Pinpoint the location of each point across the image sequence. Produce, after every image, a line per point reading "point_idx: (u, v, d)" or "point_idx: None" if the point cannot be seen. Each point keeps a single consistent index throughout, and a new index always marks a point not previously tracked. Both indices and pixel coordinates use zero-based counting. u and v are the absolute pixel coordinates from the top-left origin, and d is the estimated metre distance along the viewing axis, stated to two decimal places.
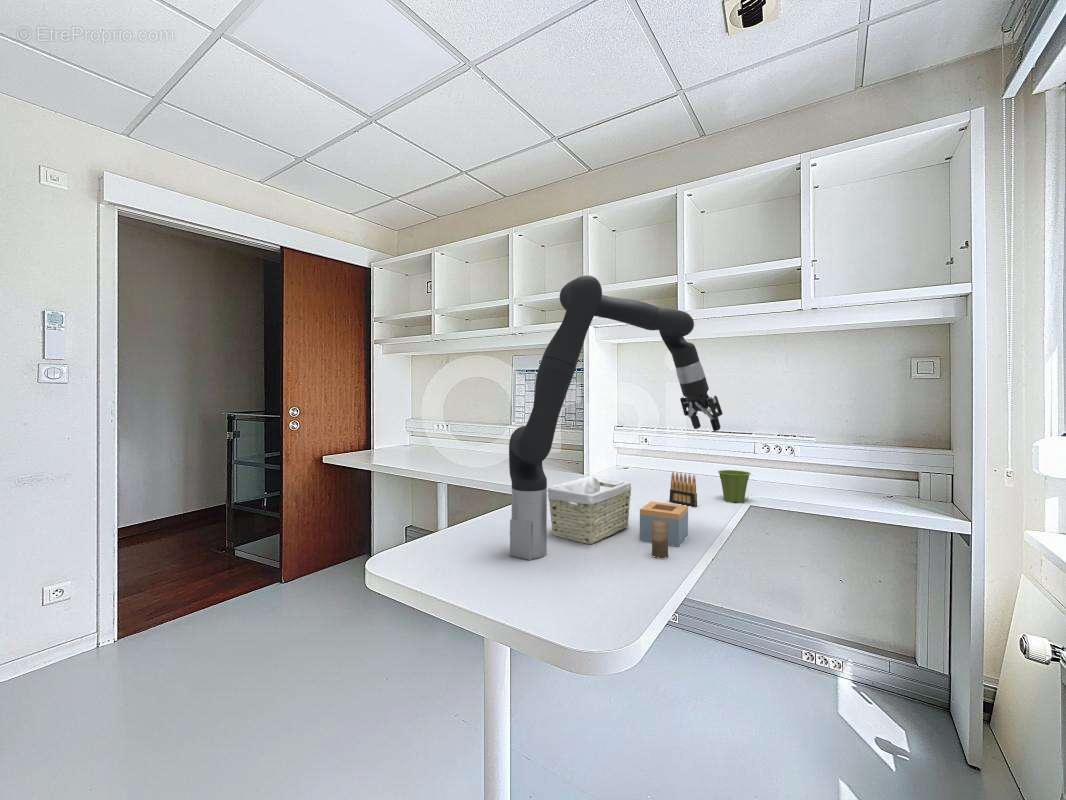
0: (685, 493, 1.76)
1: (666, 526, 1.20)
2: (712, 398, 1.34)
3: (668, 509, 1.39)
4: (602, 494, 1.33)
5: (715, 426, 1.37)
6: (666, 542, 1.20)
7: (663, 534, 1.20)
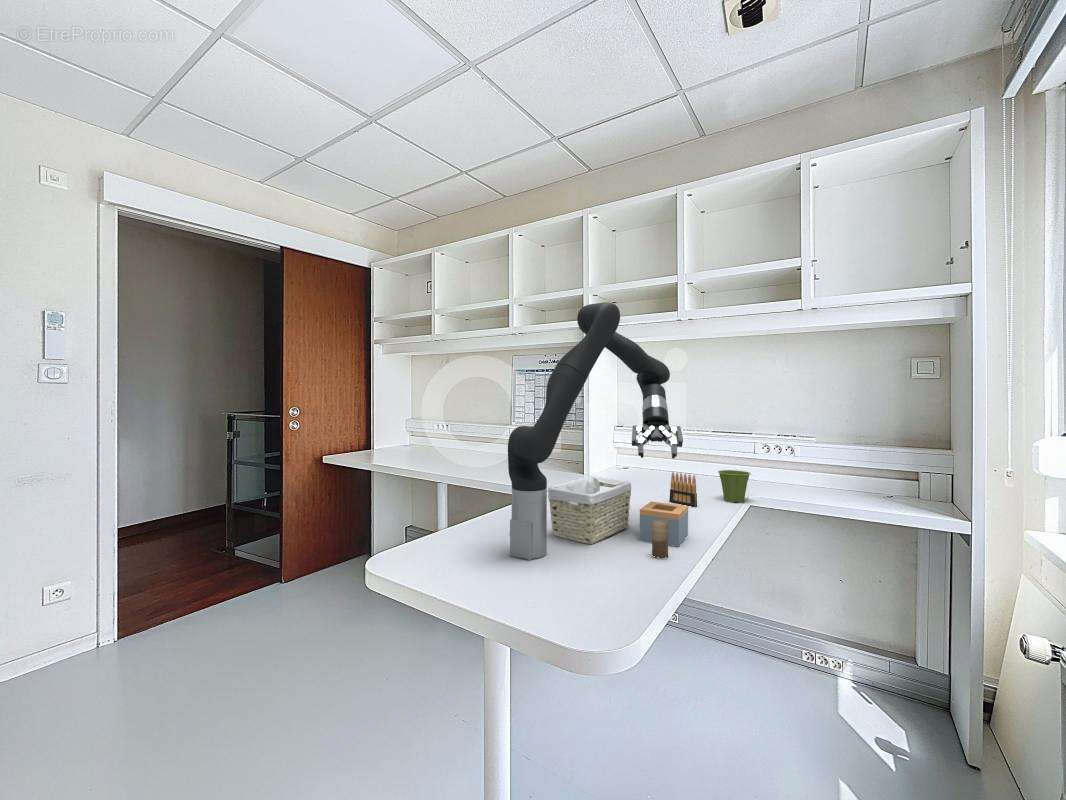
0: (685, 493, 1.76)
1: (666, 526, 1.20)
2: None
3: (668, 509, 1.39)
4: (602, 494, 1.33)
5: (675, 451, 1.32)
6: (666, 542, 1.20)
7: (663, 534, 1.20)
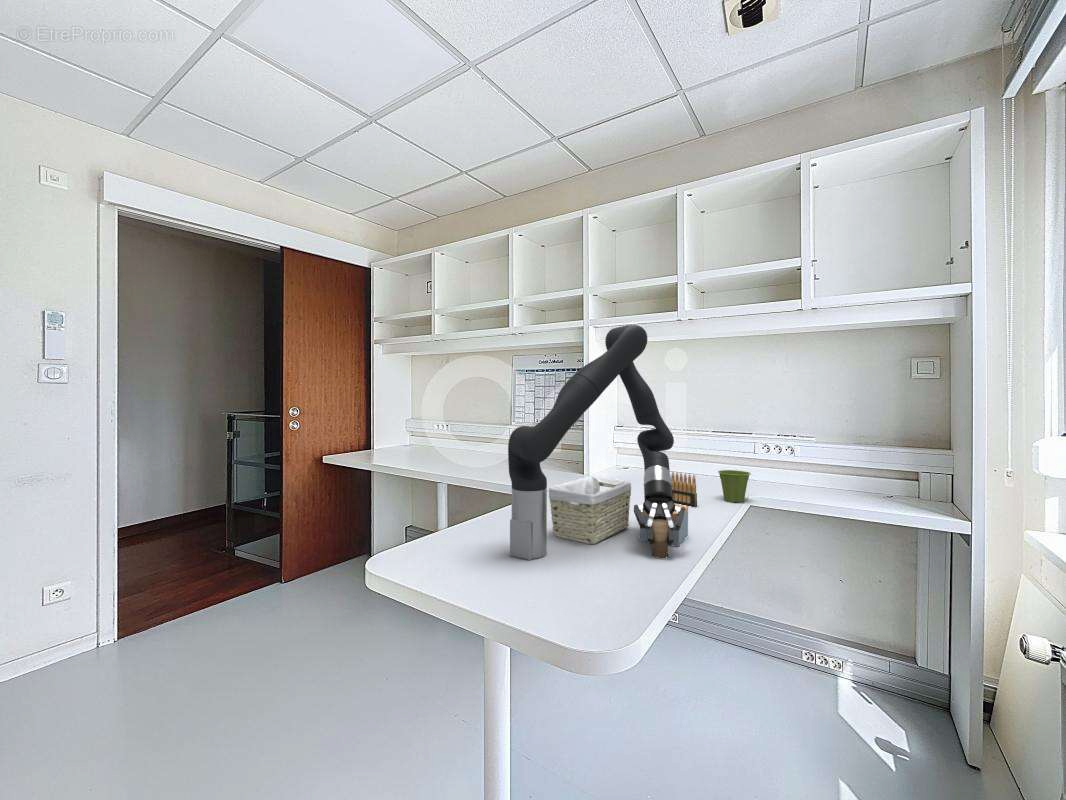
0: (685, 493, 1.76)
1: (666, 526, 1.20)
2: (684, 510, 1.25)
3: None
4: (603, 494, 1.33)
5: (672, 536, 1.20)
6: (666, 542, 1.20)
7: (663, 534, 1.20)
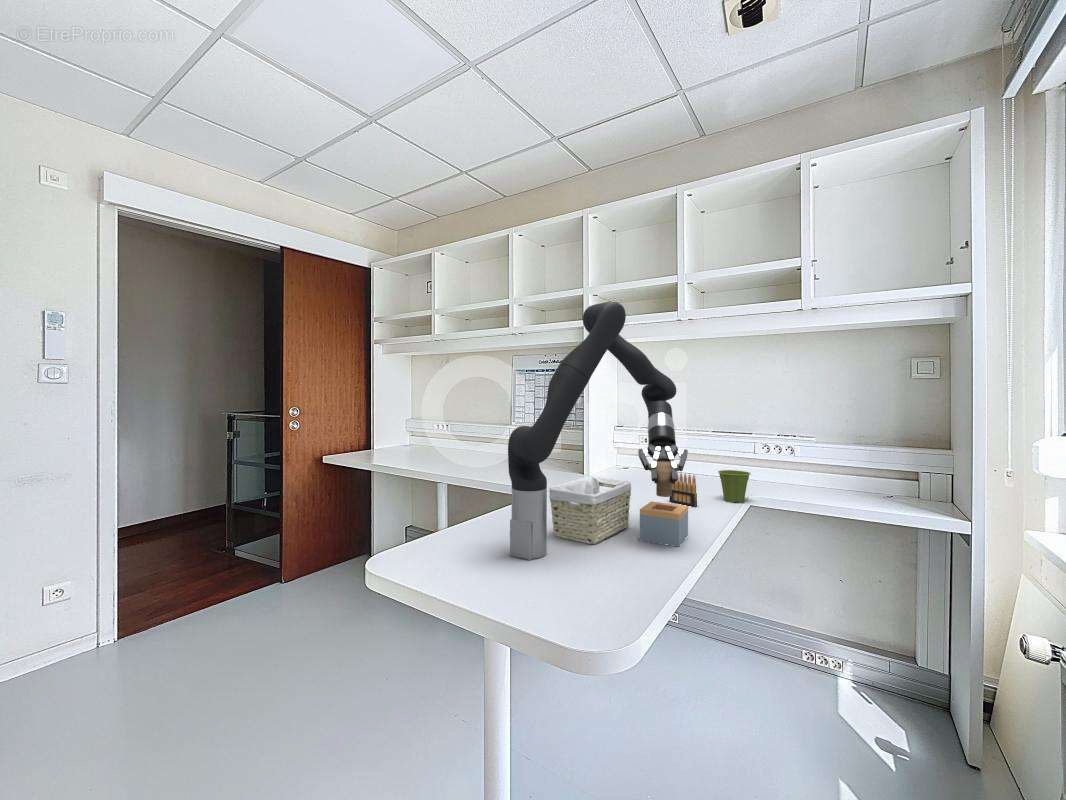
0: (685, 493, 1.76)
1: (669, 466, 1.26)
2: None
3: (668, 509, 1.39)
4: (604, 494, 1.33)
5: (675, 476, 1.26)
6: (670, 481, 1.26)
7: (667, 473, 1.26)
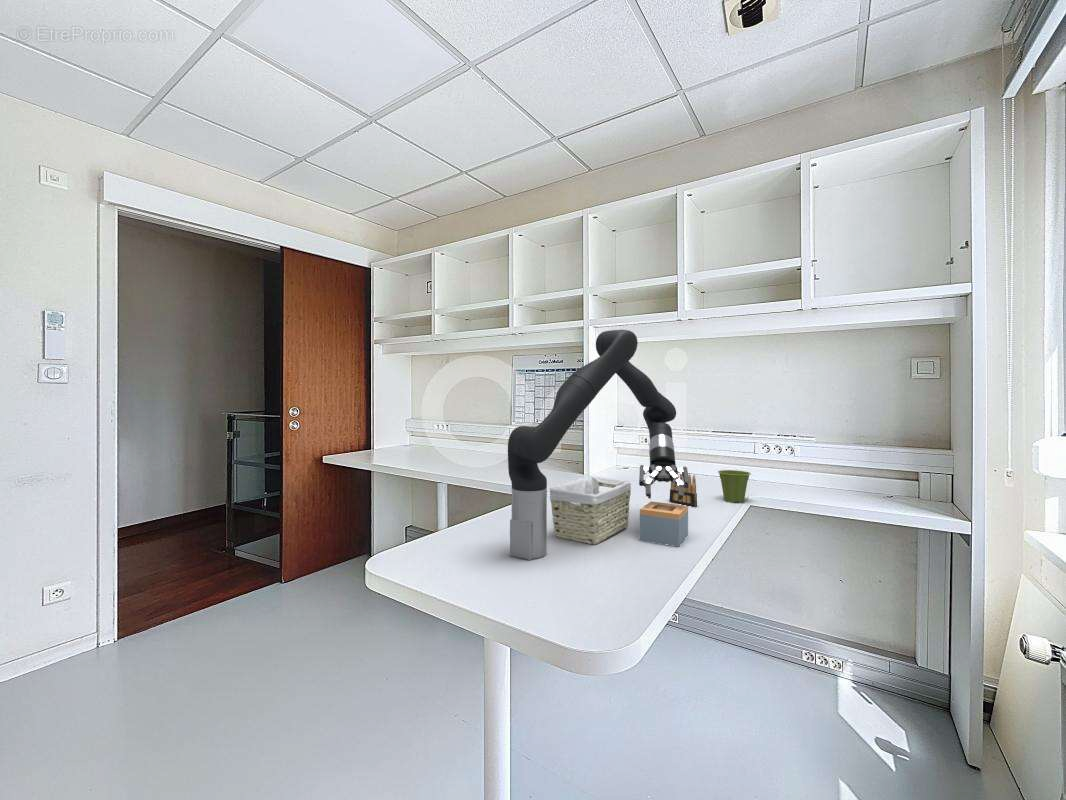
0: (685, 493, 1.76)
1: None
2: None
3: None
4: (605, 494, 1.33)
5: (682, 492, 1.35)
6: None
7: None
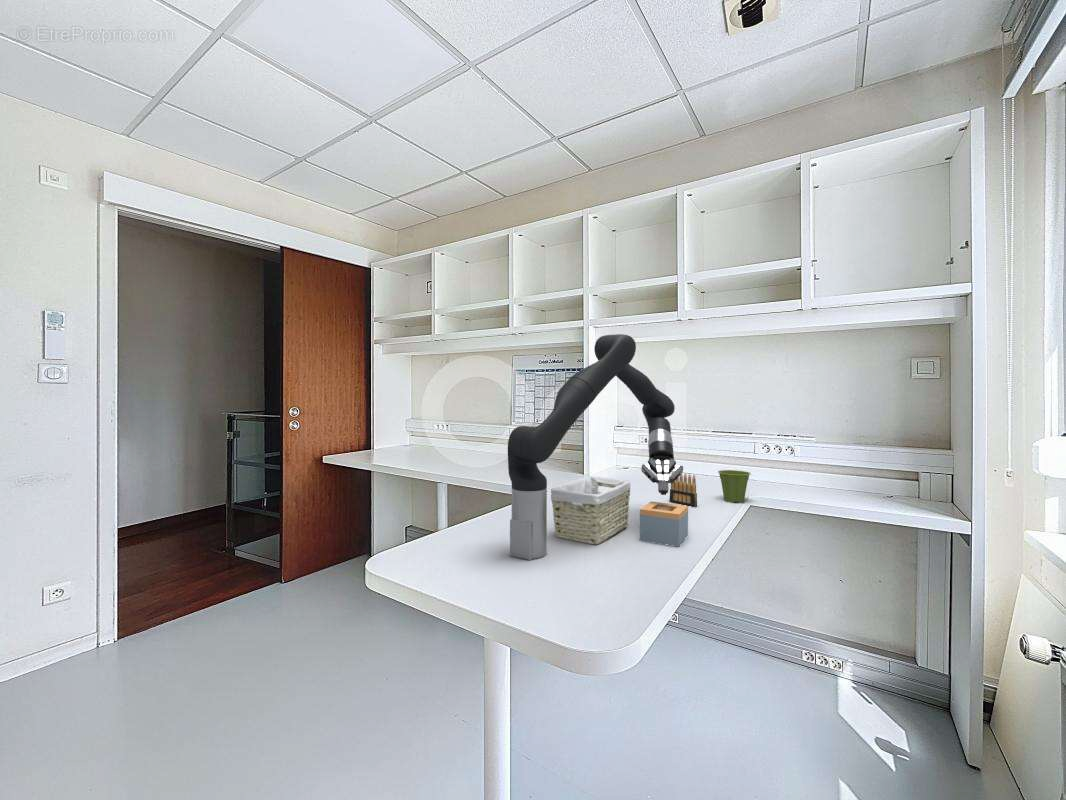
0: (685, 493, 1.76)
1: None
2: None
3: None
4: (606, 494, 1.33)
5: (667, 487, 1.38)
6: None
7: None
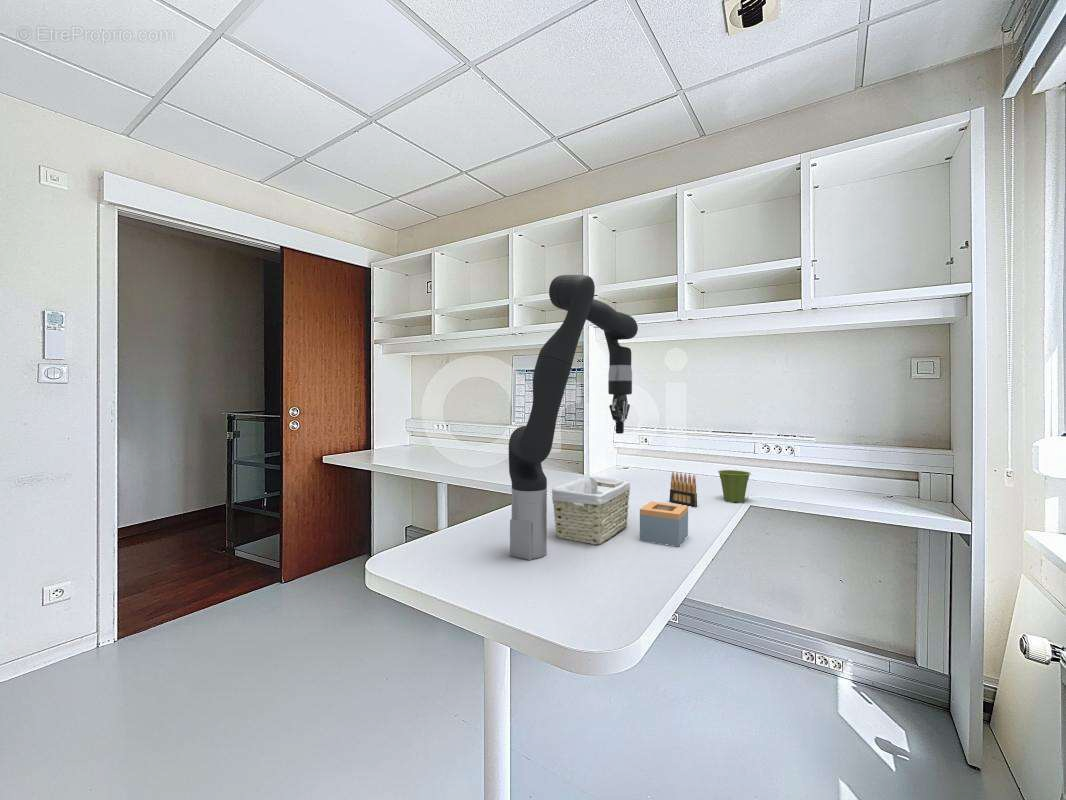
0: (685, 493, 1.76)
1: None
2: None
3: None
4: (608, 494, 1.33)
5: None
6: None
7: None
